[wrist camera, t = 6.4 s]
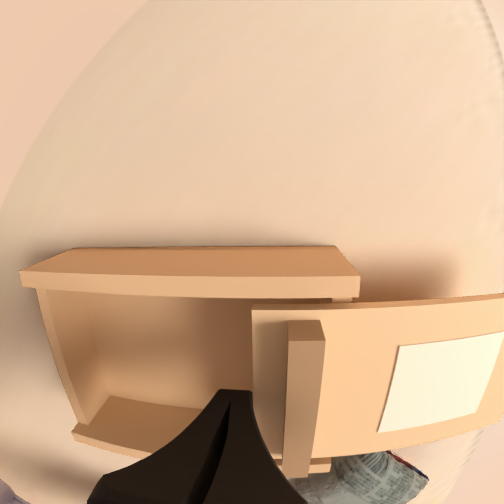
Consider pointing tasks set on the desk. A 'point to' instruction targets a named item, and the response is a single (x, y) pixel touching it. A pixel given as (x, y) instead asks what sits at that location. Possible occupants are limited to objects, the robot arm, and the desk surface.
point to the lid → (374, 374)
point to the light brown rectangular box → (168, 329)
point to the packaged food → (363, 481)
